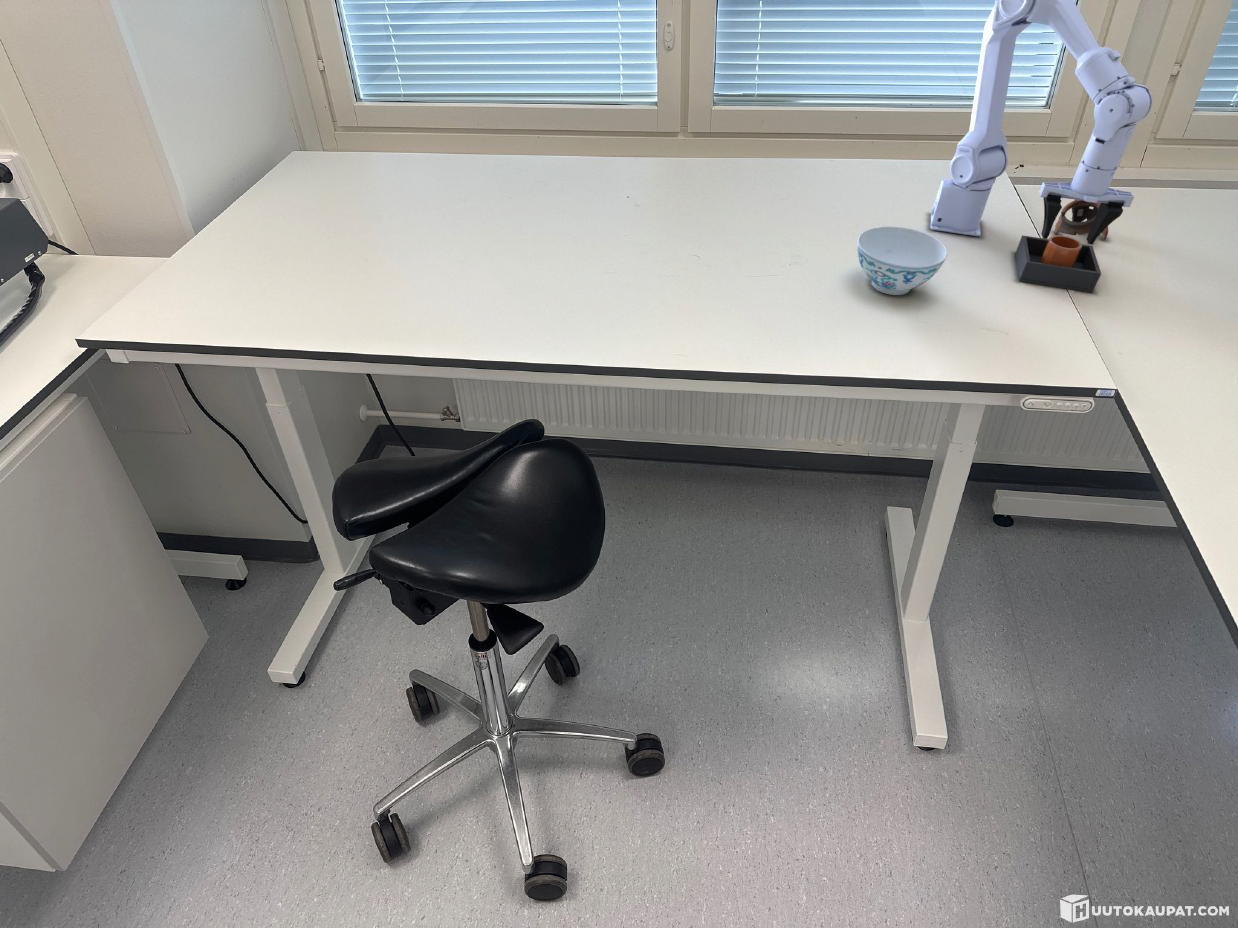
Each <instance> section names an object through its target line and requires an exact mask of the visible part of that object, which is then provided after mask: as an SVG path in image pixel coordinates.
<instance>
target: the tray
mask: <svg viewBox="0 0 1238 928" xmlns="http://www.w3.org/2000/svg"><path fill="white" fill-rule="evenodd" d="M1048 240H1049V238H1047V239H1044V238H1043V237H1036V236H1029V235H1021V238H1020V240H1019V243H1018V246H1017V247H1016V250H1015V253H1014V255H1015V262H1016V263H1015V264H1016V268H1017V275H1018V282H1021V283H1028V284H1034V285H1039V286H1046V287H1047V286H1048V287H1053V288H1059V289H1065V290H1072V291H1076V292H1077V291H1078V292H1085V293H1090V294H1093V293H1094V291H1095V288H1096V286H1097V284H1098V282H1099V280H1100V277H1101V276H1102V272H1101V268H1100V264H1099V262H1098V258H1097V256H1096V252H1095V249H1094V246H1093V245H1092V244H1085V243H1084V244H1083V243H1081V244H1082V248H1081V250H1080V252H1079V255H1078V257H1077V259H1076V261H1075V264H1074V266H1073V268H1070V267H1064V266H1057V265H1051V264H1044V263H1039V262H1040V259H1041V257H1042V255H1043V252H1044V250H1045V247H1046V245H1047V242H1048Z"/></svg>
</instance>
